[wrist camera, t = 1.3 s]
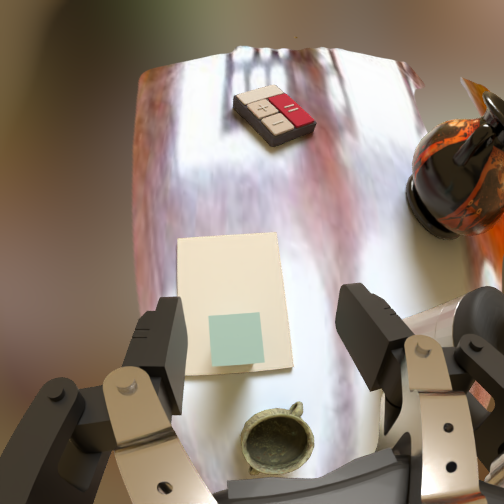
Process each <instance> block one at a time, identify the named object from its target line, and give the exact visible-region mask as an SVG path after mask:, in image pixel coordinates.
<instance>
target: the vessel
mask: <svg viewBox="0 0 504 504" xmlns="http://www.w3.org/2000/svg"><path fill="white" fill-rule="evenodd" d="M302 413H303V404H302V402H296V403H295V404H293V405H292V406H291V408H290V410H286V409H280V408H275V409H268V410H264V411H261V412H259V413H257V414H255V415H254V416H252V417H251V418H250V419H249V420H248V421H247V422H246V423H245V425H244V428H243V430H242V433H241V445H242V453H243V455H244V457H245V459H246V461H247V462H248V464H249V465H250V469H249V473H250V474H251V475H258V474H259V473H260V472H261V473H265V474H271V475H277V474H284V473H289V472H291V471H294V470H296V469H298V468H300V467H301V466H302V465H303V464H304V463H305V462H307V460H308V459H309V458H310V456H311V453H312V451H313V448H314V436H313V434H312V431H311V429H310V427H309V426H308V425H307V423H306V422H304V421H303V420H302V419H301V415H302Z"/></svg>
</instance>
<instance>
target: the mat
mask: <svg viewBox="0 0 504 504" xmlns="http://www.w3.org/2000/svg"><path fill="white" fill-rule="evenodd" d="M177 283H178V297H181V300H182V306H183V311H184V317H185V323H186V328H187V335H188V349H187V359H186V368H185V376H187V375H215V374H231V373H244V372H255V371H265V370H274V369H282V368H289V367H294V365H293V356H292V347H291V339H290V330H289V322H288V314H287V306H286V298H285V291H284V283H283V276H282V269H281V261H280V254H279V247H278V240H277V233H276V232H272V233H255V234H238V235H222V236H207V237H192V238H178V245H177ZM255 312H260V322H261V331H262V341H263V350H264V360H265V362H264V363H254V364H243V365H230V366H213V367H212V360H211V347H210V334H209V319H208V316H213V315H229V314H242V313H255Z"/></svg>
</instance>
